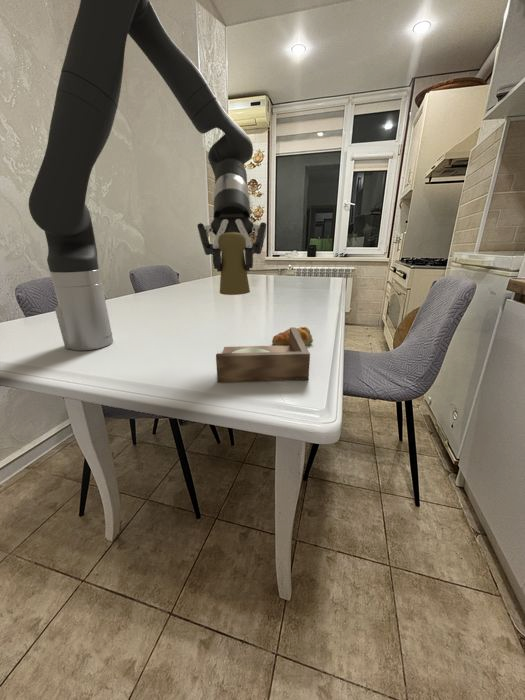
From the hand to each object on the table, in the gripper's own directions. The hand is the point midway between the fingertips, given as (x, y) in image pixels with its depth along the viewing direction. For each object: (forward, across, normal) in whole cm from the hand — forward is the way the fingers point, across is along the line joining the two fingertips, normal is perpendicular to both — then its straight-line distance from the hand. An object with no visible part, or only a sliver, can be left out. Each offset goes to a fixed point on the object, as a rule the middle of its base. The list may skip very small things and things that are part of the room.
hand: (233, 268), depth 54 cm
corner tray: (+15, +5, +11) cm, 19 cm away
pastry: (+7, +13, +20) cm, 25 cm away
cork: (+2, 0, +5) cm, 5 cm away
